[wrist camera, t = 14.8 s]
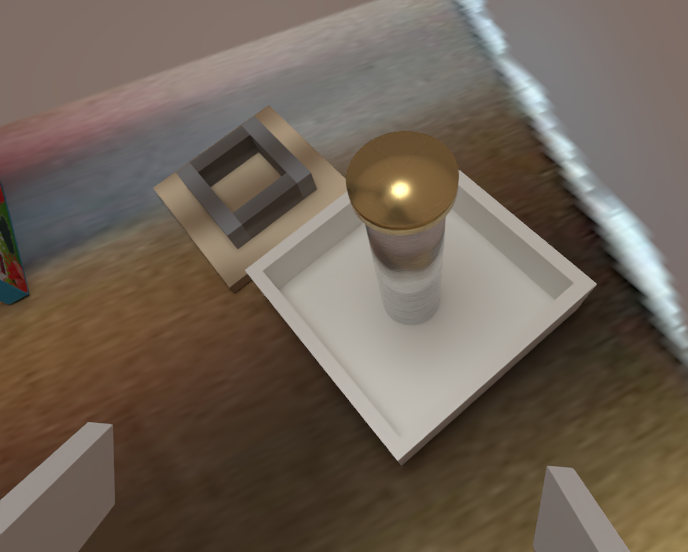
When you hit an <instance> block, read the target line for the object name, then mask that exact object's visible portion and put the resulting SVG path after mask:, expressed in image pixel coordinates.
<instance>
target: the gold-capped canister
mask: <svg viewBox="0 0 688 552" xmlns="http://www.w3.org/2000/svg"><path fill="white" fill-rule="evenodd" d="M458 182H459V169H458V165H457V162H456V159H455V157H454V156H453V154H452V153H451V151H450V150H449V149H448V148H447V147H446V146H445V145H444V144H443V143H442V142H440V141H439V140H437V139H435V138H433V137H431V136H429V135H426V134H423V133H419V132H412V131H400V132H393V133H389V134H385V135H382V136H380V137H377V138H375V139H373V140H371V141H370V142H368V143H367V144H366V145H364V146H363V147H362V148H361V149H360V150H359V151H358V152H357V153H356V154H355V156H354V157H353V159H352V160H351V162H350V164H349V167H348V170H347V174H346V188H347V192H348V196H349V200H350V204H351V206H352V209H353V211H354V212H355V214H356V215H357V217H358V218H359V219H360V220H361V221H362V222H363V223H364V224H365V226H366V231H367V235H368V240H369V244H370V249H371V253H372V258H373V262H374V267H375V271H376V275H377V280H378V284H379V289H380V293H381V298H382V302H383V306H384V309H385V311H386V312H387V314H388V315H389V316H390V317H391V318H392V319H393V320H395V321H396V322H398V323H401V324H404V325H418V324H422V323H424V322H426V321H428V320H429V319H431V318H432V317H433V316H434V314H435V313H436V312H437V310H438V308H439V305H440V297H441V282H442V266H443V251H444V236H445V221H446V216H447V214H448V213H449V212H450V210H451V209H452V207H453V205H454V203H455V201H456V197H457V192H458Z"/></svg>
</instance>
